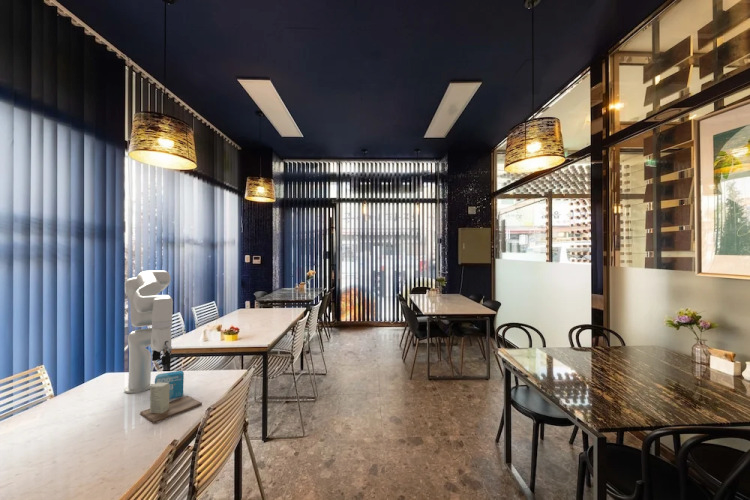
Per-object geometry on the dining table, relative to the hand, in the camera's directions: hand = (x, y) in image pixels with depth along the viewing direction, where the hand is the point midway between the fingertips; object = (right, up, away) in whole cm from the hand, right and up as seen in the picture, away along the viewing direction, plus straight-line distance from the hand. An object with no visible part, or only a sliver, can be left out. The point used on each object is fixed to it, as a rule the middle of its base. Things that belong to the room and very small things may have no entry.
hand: (161, 362), depth 138 cm
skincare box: (0, -22, -1) cm, 22 cm away
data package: (-7, -24, +16) cm, 29 cm away
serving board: (+3, -23, +3) cm, 24 cm away
